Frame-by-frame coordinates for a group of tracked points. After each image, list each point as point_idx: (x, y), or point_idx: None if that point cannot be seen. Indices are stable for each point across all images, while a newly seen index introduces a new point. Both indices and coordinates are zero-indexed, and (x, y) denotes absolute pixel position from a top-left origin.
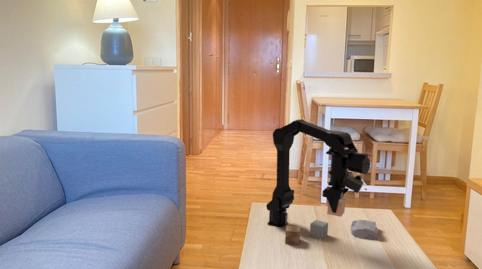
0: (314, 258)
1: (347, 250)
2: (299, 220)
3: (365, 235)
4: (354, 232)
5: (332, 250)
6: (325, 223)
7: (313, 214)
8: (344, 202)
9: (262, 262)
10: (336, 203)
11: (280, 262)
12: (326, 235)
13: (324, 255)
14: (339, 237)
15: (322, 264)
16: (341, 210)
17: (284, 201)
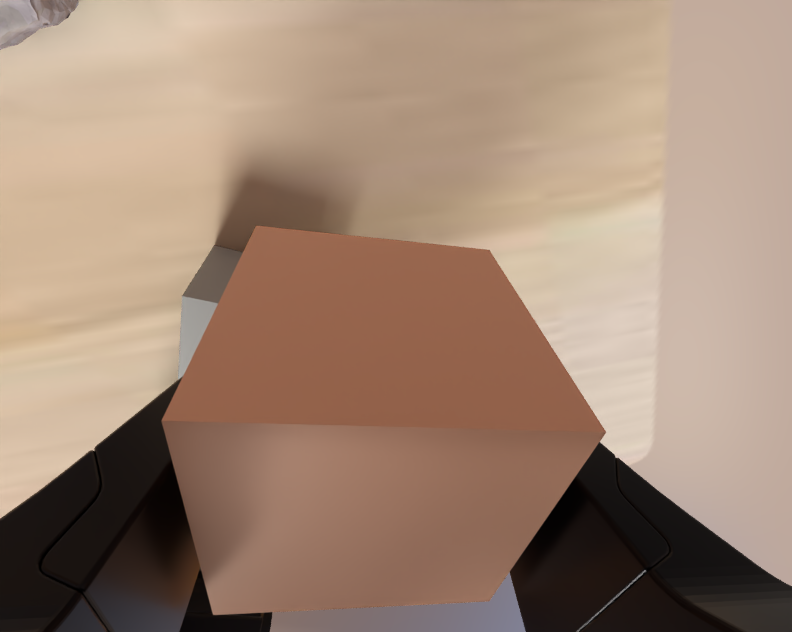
0: (590, 264)
1: (428, 60)
2: (99, 420)
3: None
4: (55, 2)
5: (461, 179)
6: (210, 312)
7: None
8: (284, 363)
9: (637, 427)
10: (651, 509)
11: (637, 381)
12: (230, 250)
13: (545, 219)
14: (202, 152)
15: (662, 213)
16: (523, 311)
17: (257, 630)
